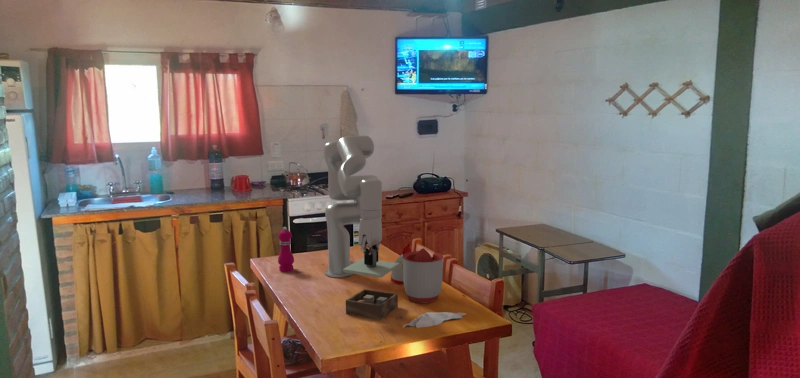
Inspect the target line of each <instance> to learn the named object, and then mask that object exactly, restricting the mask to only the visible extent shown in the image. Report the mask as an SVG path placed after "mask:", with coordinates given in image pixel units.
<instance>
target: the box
mask: <svg viewBox="0 0 800 378" xmlns="http://www.w3.org/2000/svg"><path fill="white" fill-rule="evenodd" d="M398 298H399V295H398V293H393V292H387V291H380V290H375V289H369V288H363V289H362V290H360V291H358V292H357V293H355V294H353V295H352V296H351V297H348V299H345V315H349V316H350V315H352V316H357V317H361V318H362V317H363V318H367V319H368V318H369V319H373V320H379V321H381V320H383V319H384V318H385V317H387V316H388V315H389V314H390V313H391V312H393V311H394V310H396V309H397V308H398V307H399V305H398V303H399V301H398Z"/></svg>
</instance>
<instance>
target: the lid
mask: <svg viewBox="0 0 800 378" xmlns="http://www.w3.org/2000/svg"><path fill="white" fill-rule="evenodd" d="M372 254H373V265H372V266H371V265H365V264H364V257H363V258H361V259H359V260H357V261H356V262H355V261H354V263H353V264H351V265H350V266H348V267H346V268H344V269H343V272H347V273H353V274H352V275H362V276H367V277H372V278H373V277H374V278H380V279H381V278H383V277H384V276H386V275H387V274H389V273H391V271H392V270H393V269H395V268H397V267H398V266H399V263H395V262H392V261H385V260H379V259H378V262H376V249H372Z"/></svg>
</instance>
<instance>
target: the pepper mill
mask: <svg viewBox="0 0 800 378" xmlns="http://www.w3.org/2000/svg"><path fill="white" fill-rule="evenodd" d="M292 238H293V234H292V231H290V230H289V229H288V227H286V226H284V227H282V230H280V232H278V240H279V245H280V252H279V255H278V258H277V263H278V265H279V266H278V268H279V269H278V270H279V271H280V272H283V273H284V272H285V273H288V272H292V271H294V265H293V264H294V263H295V257H294V255H293V252H292V250H291V244H292V241H291V239H292Z"/></svg>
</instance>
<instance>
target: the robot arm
mask: <svg viewBox="0 0 800 378" xmlns="http://www.w3.org/2000/svg"><path fill="white" fill-rule="evenodd" d="M374 144H375V143H374V141H373V138H371V137H370V136H369V135H346V136H342V137H340V138H339V140H334V141H329V142H326V143H325V144H324V146H323V157H324V160H325V163H326V166H327V170H328V171H327V173H328V175H327V176H328V177H327V178H328V186H327V187H328V195H329V198H330V199H331V200H332V201H350V202H336V203H331V204H329V205H326V207H325V211H324V212H325V213H324V214H325V216H324V217H325V220H326V227H327V229H326V230H327V251H328V252H327V253H328V256H327V258H328V259H327V260H328V268H327V269H325V272H324V273H325V274H324V275H326V276H327V277H329V278H346V277H347V278H348V277H349V276H352V275H354V274H353V273H347V272H343V269H344V268H346V267H348V266H350V265H351V264H353V263H355V261H354V260H351V249H350V248H351V247H350V246H351V245H350V244H351V242H350V239H351V236H350V233H349V231H348V230H347V228H346V227H345V226H346V225H357V224H359V226H358V227H359V228H358V245H359V246H360V250H361V251H363V254H364V255H363V258H364V264H365V265H371V266H372V265H373V254H372V249H376V262H378V260H379V251H380V244H381V242H382V240H383V224H382V222H383V221H382V218H383V215H382V214H383V213H382V212H383V211H382V210H383V207H382V205H383V202H382V200H383V199H382V197H383V194H382V193H383V189H382V188H383V186H382V181H381V180H380V179H379V178H378V177H377V176H376V175H373V174H370V175H369V174H368V175H365V174H364V175H354V174H357V173H359V172H361V171H362V170H363V169H364V168H365V166H366V163H367V159H368V158H370V157H371V156H372V155H373V154H374V151H375V145H374ZM351 201H352V202H351Z"/></svg>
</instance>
